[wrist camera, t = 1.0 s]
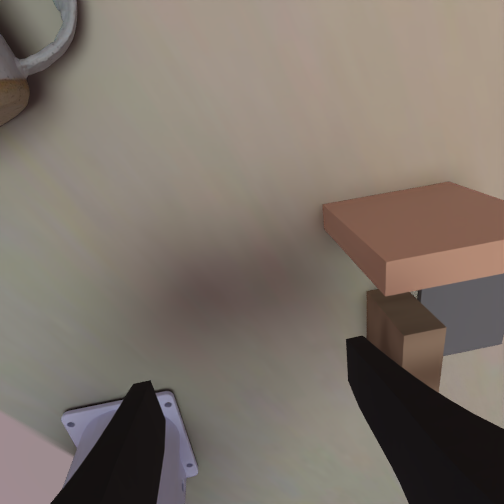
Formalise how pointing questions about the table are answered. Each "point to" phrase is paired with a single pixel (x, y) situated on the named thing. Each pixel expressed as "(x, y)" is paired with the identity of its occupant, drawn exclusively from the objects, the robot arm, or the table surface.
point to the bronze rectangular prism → (407, 334)
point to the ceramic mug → (32, 63)
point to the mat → (468, 312)
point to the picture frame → (420, 236)
